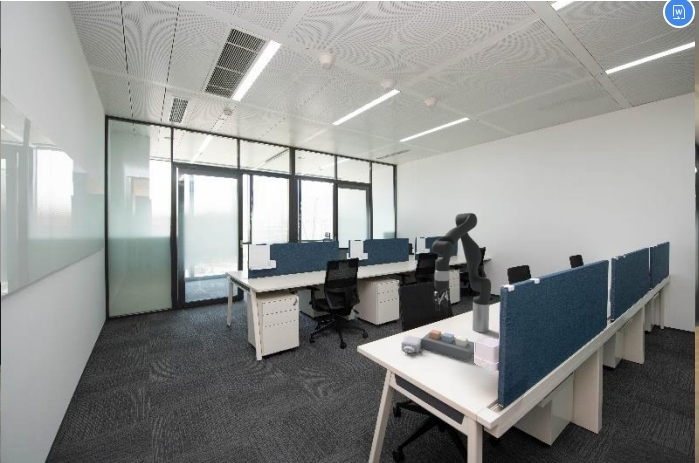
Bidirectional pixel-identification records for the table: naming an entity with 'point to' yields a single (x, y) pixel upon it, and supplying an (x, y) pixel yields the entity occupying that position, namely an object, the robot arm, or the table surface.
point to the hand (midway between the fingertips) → (441, 309)
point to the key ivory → (462, 341)
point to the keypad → (448, 348)
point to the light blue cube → (448, 338)
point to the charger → (411, 344)
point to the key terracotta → (435, 334)
